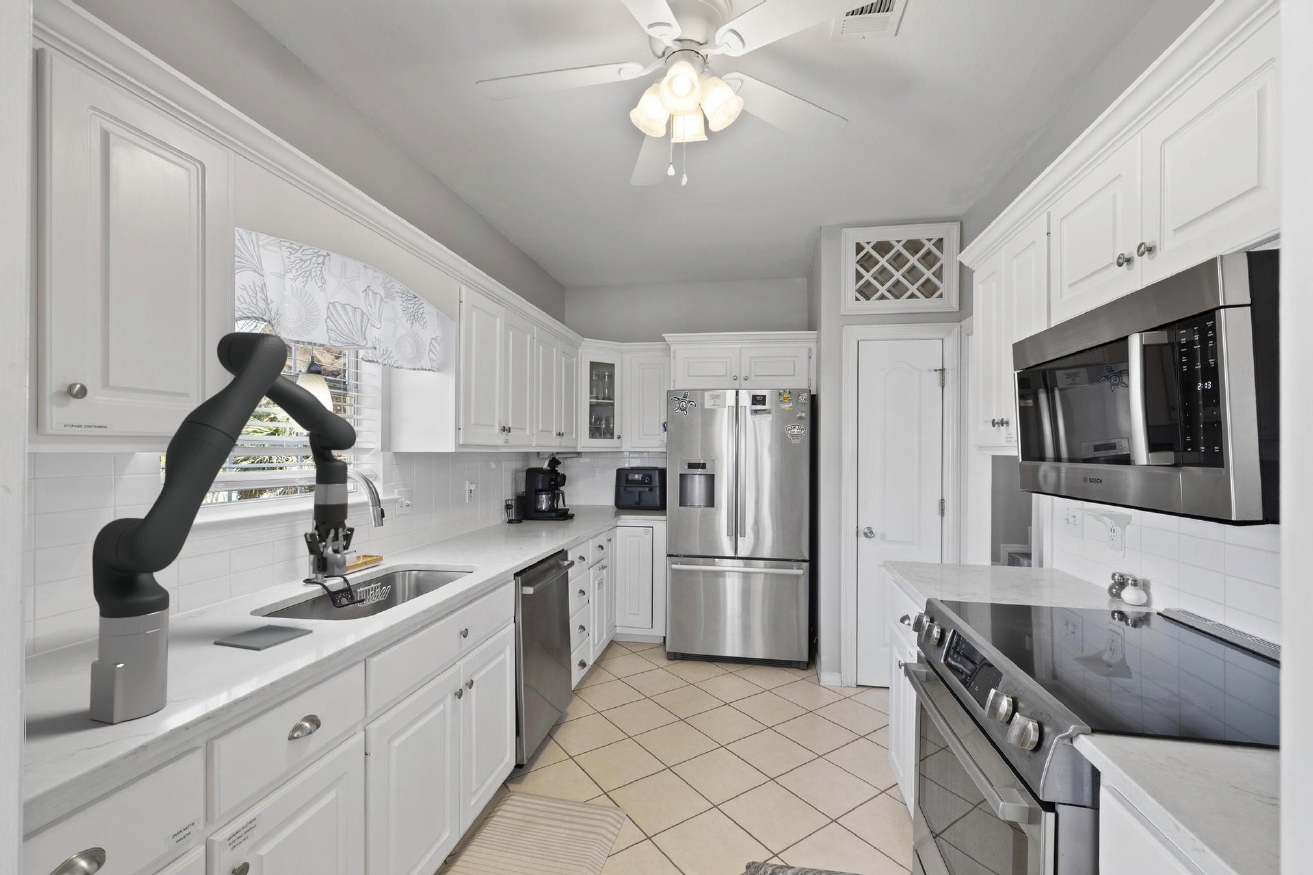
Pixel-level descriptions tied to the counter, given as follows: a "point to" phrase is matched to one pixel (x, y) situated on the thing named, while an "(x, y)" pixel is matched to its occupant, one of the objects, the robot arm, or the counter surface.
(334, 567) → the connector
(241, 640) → the slate mat
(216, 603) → the counter surface
